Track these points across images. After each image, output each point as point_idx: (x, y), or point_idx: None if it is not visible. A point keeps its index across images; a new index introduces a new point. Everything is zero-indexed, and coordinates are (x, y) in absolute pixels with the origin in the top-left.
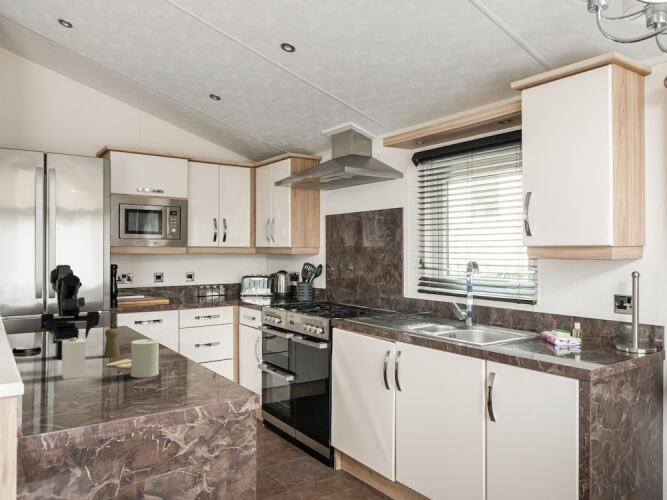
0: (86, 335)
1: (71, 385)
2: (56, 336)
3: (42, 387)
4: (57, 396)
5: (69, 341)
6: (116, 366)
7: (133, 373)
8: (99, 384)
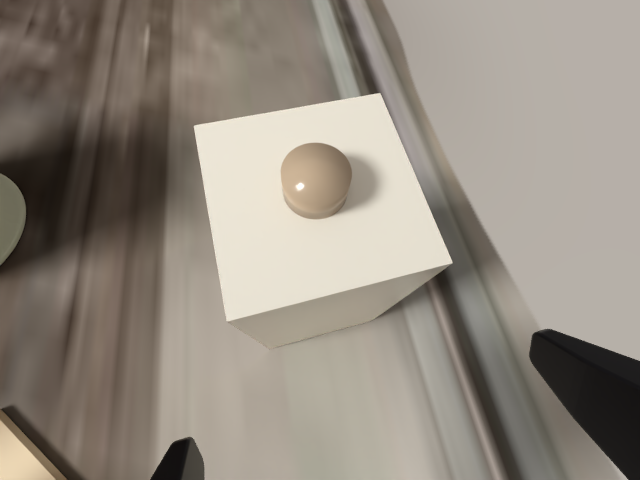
0: (177, 453)
1: None
2: (575, 342)
3: None
4: (309, 22)
5: (352, 176)
6: (58, 474)
7: (5, 184)
8: (180, 114)
